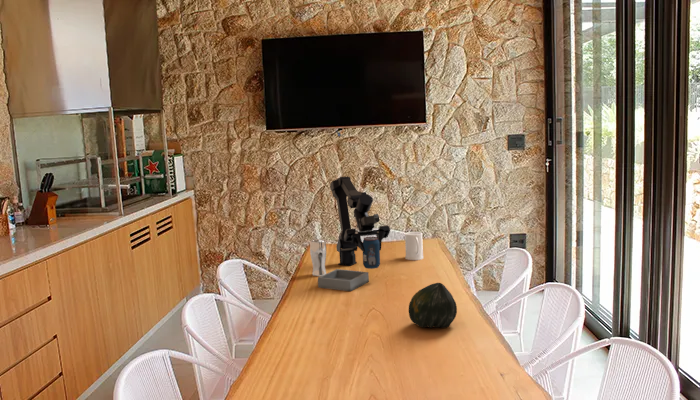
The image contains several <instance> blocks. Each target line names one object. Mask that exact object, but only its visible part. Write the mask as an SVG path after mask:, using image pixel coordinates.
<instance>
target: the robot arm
mask: <svg viewBox="0 0 700 400" xmlns="http://www.w3.org/2000/svg"><path fill="white" fill-rule="evenodd" d="M329 188H330V191H331V194H332V196H333V197H334V199H335V200H336V205H337V212H338V219H339V226H340V232H339V235H338V239H337V240H338V241H337V243H336V246H335V247H336V252H338V254H339V263H337V264H338V265H339V266H350V267H351V266H353V265H354V264H355V265H356V264H357V261H356V259H357V258H356V257H357V256H356V252H357V251H358V249H360V251H361V252H362V253H363V252H365V249H364V246H363V243H362V242H363V240H362V237H370V236H375V237H377V238H378V240H379V245H380V251H382V244H383V243H382V241H383V240H384V239H387V238H388V237H389V234H390V233H391V227H390V226H389V225H385V224H384V225H379V227H378V229H375V227H376V226H375V225H376V224H377V223H379V222H380V216H379V214H378V213H375V214H372V215H369V212H370V211H371V208H372V205H373V202H374V198H373V196H371V195H370V194H367V191H366V192H365V191H364V192H363V191H359V190H358V189H357V188H356V187H355V185H354V183H353V182H352V180H351V177H350V176H339V177H338V178H337V179H334V180H332V181H331V182H330V184H329ZM349 208H350V209H353V217H354V218H355V219H354V220H355V221H356V228H358V229H357V230H356V228H351V226H352V225H351V220H350V212H349Z"/></svg>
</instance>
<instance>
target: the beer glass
mask: <svg viewBox="0 0 700 400" xmlns="http://www.w3.org/2000/svg"><path fill="white" fill-rule="evenodd" d="M309 243H310V244H309V251H310V252H309V253H310V259H311V263H312V274H311V275H312V277H313V276H314V277H320V276H323V275H325V274H327V270H326V260H327V242H326V239H324V238H315V239H312V240H310V242H309Z"/></svg>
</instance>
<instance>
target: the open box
mask: <svg viewBox="0 0 700 400" xmlns="http://www.w3.org/2000/svg"><path fill="white" fill-rule="evenodd" d="M369 277H370V276H369V272H368V271H362V270H361V271H359V270H352V269H351V270H350V269H339V268H337V269H334V270H332V271H329V272H326V274H325V275H323V276H317V288H320V289H329V290H336V291H337V290H338V291H344V292H353V291H355V290H357V289H358V288H360V287H362V286H363V285H366V284H367V283H369V280H370V279H369Z"/></svg>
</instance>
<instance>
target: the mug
mask: <svg viewBox="0 0 700 400" xmlns="http://www.w3.org/2000/svg"><path fill="white" fill-rule="evenodd" d="M404 240H405V243H404V244H405V258H404V259H405V260H407V261H421V260H424V249H423V248H424V247H423V246H424V244H423V242H424V241H423V232H421V231H408V232H407V231H406V232H405V233H404Z"/></svg>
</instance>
